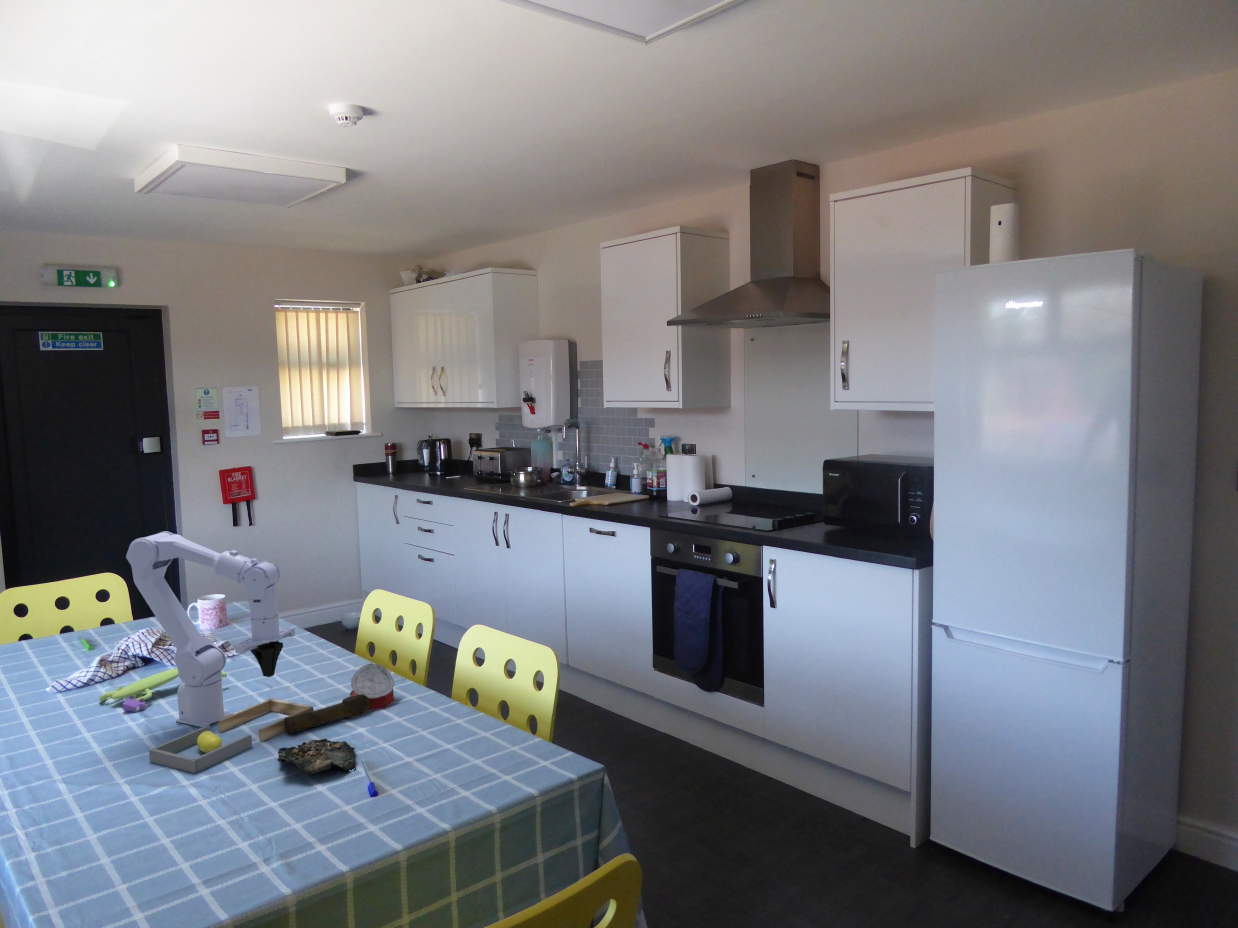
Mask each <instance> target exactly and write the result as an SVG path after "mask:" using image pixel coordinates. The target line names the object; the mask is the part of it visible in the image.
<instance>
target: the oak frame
mask: <svg viewBox="0 0 1238 928" xmlns="http://www.w3.org/2000/svg"><path fill="white" fill-rule="evenodd" d="M313 711H315V710H314V706H312V705H306V704H300V703H297V702H290V701H284V700H279V699H274V698H269V699H267V700H265V701H261V702H260V703H257V704H255V705H252V706H250V707H248V708H245V709H243V710H241V711H238V712H236V713H233V715H231V716H228V717H226V718H224V719H221V720H219V721H217V725H218V732H219V733H223V732H225V731H228V730H230V729H232V728H236V727H238V726H239V725H242V724H245V723H246V722H249V721H252V720H253V719H255V718H258V717H260V716H263V715H264V714H267V713H269V712H276V713H280V714H285V715H288V716H287V717H293V716H297V715H300V714H304V713H307V712H313ZM258 732H259V733H258V734H259V735H258V736H259V742H265V741H266V740H269V739H272V738H274V737H276V736H278V735H279V734H281V733H284V732H286V731H285V725H284V718H281V719H280V720H277V721H276V722H273V723H270V724H269V725H266V726H264V727H262V728H259V729H258Z"/></svg>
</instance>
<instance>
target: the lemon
mask: <svg viewBox="0 0 1238 928" xmlns="http://www.w3.org/2000/svg"><path fill="white" fill-rule="evenodd" d="M222 743H223V740H222V738H221V737H220V736H218V735H217V734H215V733H214V732H212V731H211V730H210V731H205V732H203V733H201V734H200V735H199V737H198V739H197V743H196V744H197V746H198V749H199V751H201V752H202V753H204V754H206V753H208V752H211V751H213V750H215V749H217V748H220V747H222V746H223V745H222Z"/></svg>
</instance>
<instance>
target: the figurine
mask: <svg viewBox="0 0 1238 928" xmlns="http://www.w3.org/2000/svg"><path fill="white" fill-rule="evenodd" d="M227 674H228V673H227V672H226V671H224V672H222V675H221V678H227V677H228V675H227ZM177 678H180V677H179V675H178V668H172V669H169V670H165V671H161V672H158V673H155V674H152V675H149V676H147V677H144V678H142V679H139V680H137V681H135V682H132V683H130V684H128V685H126V686H124V687H122V686H121V685H120V686H118V687H117V688H116V689H115V690H112V691H108V692H107V691H106V692H105V693H103V694H102V695H100V696H99V701H100V702H104V700H105V701H107V700H108V699H107V698H109V697H111V698H109V699H112V700H119V699H125V700H124V701H123V703H122V710H123V712H128V711H137V712H139V711H144V710H146V709H147V708H146V707H147V706H146V705H147V702H146V701H145V700H149V699H150V698H152V697H153V693H152V692H151V691H154V690H155V691H157V692H162V690H160V689H157V688H160V687H161V686H163V685H166V684H167V683H170V682H172V681H173V680H176V679H177ZM144 693H145V695H144V696H143V694H144ZM106 699H107V700H106ZM145 708H146V709H145ZM143 709H144V710H143ZM138 710H139V711H138Z"/></svg>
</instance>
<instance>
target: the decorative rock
mask: <svg viewBox="0 0 1238 928" xmlns="http://www.w3.org/2000/svg"><path fill="white" fill-rule="evenodd" d="M355 750H356V748H355V747H352V746H351V745H350V744H349V743H348V742H347V741H332V740H330V739H329V740H328V739H327V738H323V739H313V740H312V739H311V740H309V741H307V742H306V741H303V742H302V744H297V745H296V746H290V747H285V746H284V747H281V748H278V752H277V754H278V755H277V757H278V758H277V761H278V762H281V763H287V762H288V763H289V764H294V765H295V766H296V768H297V769H299V771H301V772H300V773H301V774H303V775H306V776H307V775H309V776H310V775H313V774H317V773H321V772H322V771H326V770H327V771H328V770H330V769H331V767H332V765H333V766H334V767H336V768H337V767H340V768H341V769H342V770H344V771H345V772H346V773H347V772H350V773H351V771H349V770H352V769H354V768H355V769H356V762H355V760H356V755H355ZM355 769H354V770H355ZM352 771H353V770H352Z"/></svg>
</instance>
